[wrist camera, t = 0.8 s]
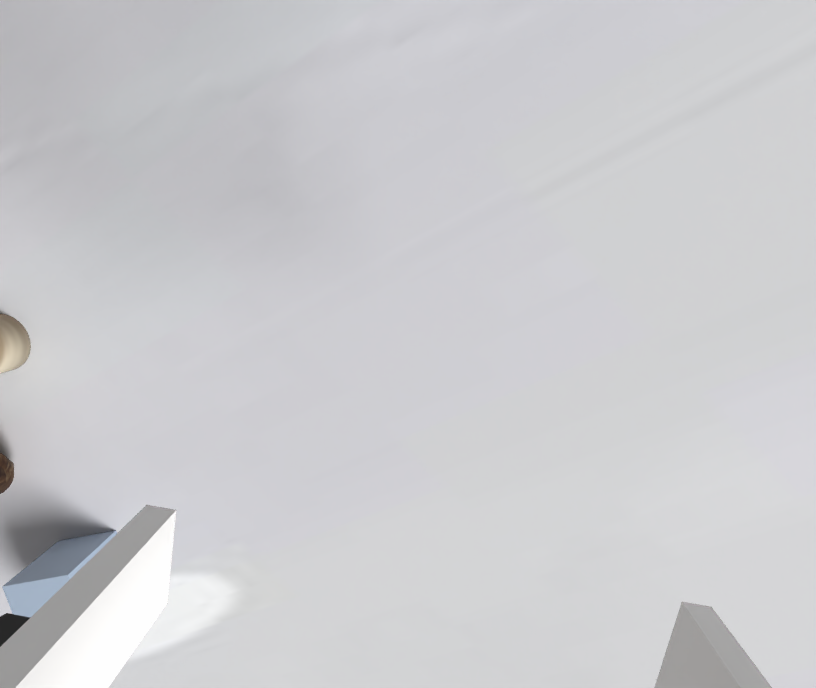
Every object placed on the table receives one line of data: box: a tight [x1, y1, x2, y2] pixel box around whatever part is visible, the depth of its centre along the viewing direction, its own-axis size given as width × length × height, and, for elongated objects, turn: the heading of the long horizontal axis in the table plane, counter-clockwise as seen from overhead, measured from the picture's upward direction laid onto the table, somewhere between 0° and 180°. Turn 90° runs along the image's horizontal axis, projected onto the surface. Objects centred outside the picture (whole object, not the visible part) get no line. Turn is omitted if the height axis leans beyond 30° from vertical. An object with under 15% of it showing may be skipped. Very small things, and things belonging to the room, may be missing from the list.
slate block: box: [3, 530, 117, 617], centre depth 42 cm, size 5×5×6 cm
